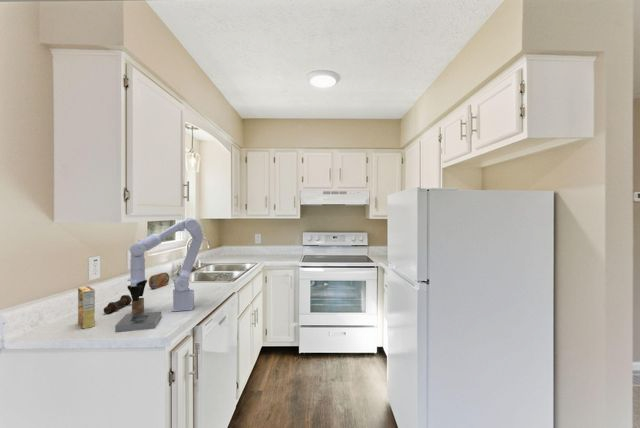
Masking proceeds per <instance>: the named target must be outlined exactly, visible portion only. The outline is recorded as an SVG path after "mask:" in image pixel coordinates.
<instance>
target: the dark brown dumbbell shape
mask: <svg viewBox="0 0 640 428" xmlns="http://www.w3.org/2000/svg"><path fill="white" fill-rule="evenodd" d="M130 304H132V297H131V295H129V294H123V295H121V296H120V299H119V300H117V301H113V302H112V301H111V302H108V304H107V306H104V308H103V309H102V310H103V313H104V314H110V313H115V312H117V311H118V310H119V308H121V307H123V305H128V306H131V305H130Z"/></svg>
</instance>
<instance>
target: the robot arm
mask: <svg viewBox="0 0 640 428" xmlns="http://www.w3.org/2000/svg"><path fill="white" fill-rule="evenodd" d="M185 231H187V232H188V233H189V234H190V237H191V238H192V239H191V242H190V244H189V247H188V249H187V253H186V254H185V255H186V256H185V258H184V260H183V262H182V263H183V264H182V265H181V266H182V267H181V269H180V270H179V272H178V275H176V277H174V280H173V284H174V285H173V286H174V288H173V291H172V294H173V295H172V297H173V299H172V301H173V302H172V303H173V304H172V305H173V307H172V308H171V311H170V312H182V311H183V312H184V311H193V310H194V307H195V304H196V302H195V289H190V288H189V286H190V277H191V272H192V270H193V267H194V265H195V262H196V259H197V256H198V254H199V251H200V249H201V246H202V243H203V242H204V241H203V240H204V234H203V231H202V227H201V224H200V223H199V221H197V219H195V218H192V217H189V218H186V219H184V220H181V221H179V222H177V223H175V224H173V225H172V226H171V225H170V227H168V228H166V229H164V230H163V231H161V232H159V233H149V234H148V235H147V237H144V238H142V239H138V240H137V242H135V243H133V244H132V245H131V246H130V248H129V252H130V265H129V266H130V267H129V268H130V278H128V279H127V281H128V282H130V285H127V290H128V291H129V293H130V297H131V299H132V300H133V301H138V300H139V298H141V297H143V296H144V292H145V287H146V284H147V283H148V279H146V264H145V263H146V258H145V252H148V251H150V250H153V248H156V247H158V246H159V245H161V243H162V240H164V239H166V238H168V237H170V236H172V235H174V234H176V233H177V232H185Z"/></svg>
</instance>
